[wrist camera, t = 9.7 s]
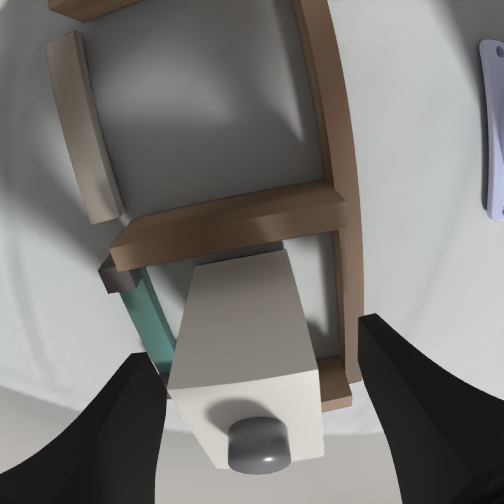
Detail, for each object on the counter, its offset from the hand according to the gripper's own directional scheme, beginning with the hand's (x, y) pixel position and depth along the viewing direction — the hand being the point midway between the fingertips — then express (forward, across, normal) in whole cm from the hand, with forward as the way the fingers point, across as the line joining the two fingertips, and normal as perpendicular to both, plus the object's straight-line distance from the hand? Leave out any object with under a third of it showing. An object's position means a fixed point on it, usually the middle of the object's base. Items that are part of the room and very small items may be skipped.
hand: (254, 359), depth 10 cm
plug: (+3, 0, 0) cm, 3 cm away
